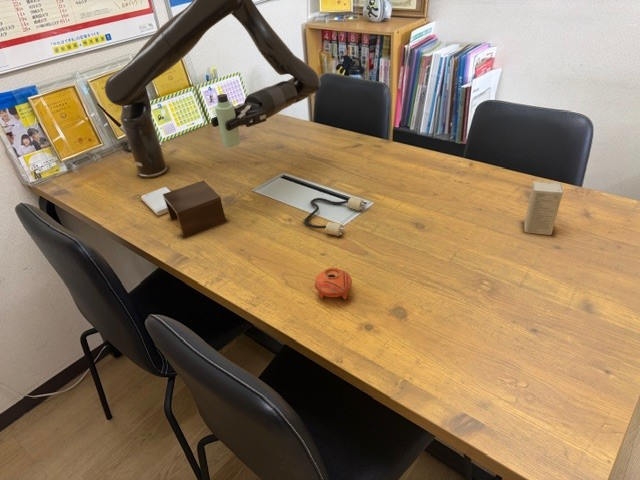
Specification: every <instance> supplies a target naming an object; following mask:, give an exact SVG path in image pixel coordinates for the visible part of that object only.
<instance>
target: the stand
mask: <svg viewBox="0 0 640 480" xmlns="http://www.w3.org/2000/svg"><path fill="white" fill-rule="evenodd" d="M170 191H171V192H168V193H165V194H163V197H164V200H165V203H166V206H167V209H168V212H167V213H168V216H169V219H170V220H171V221H173V220H176V219H177V220H178V223H179V227H180V230H181V233H182V236H183V238H189V237H190V236H194V235H196V234H199V233H200V232H203V231H206V230H208V229H211V228H213V227H216V226H219V225H221V224H224V223H226V222H227V220H226V215H225V211H224V206H223V203H222V198H221V196H220V195H219V194H218V193H217V192H216V190H214V189H213V188H212V187H211V186H210V185H209V184H208V183H207V182H206V181H205V180H200V181H197V182H194V183H192V184H189V185H186V186H183V187H180V188H177V189H174V190H170Z"/></svg>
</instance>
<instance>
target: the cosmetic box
mask: <svg viewBox="0 0 640 480" xmlns="http://www.w3.org/2000/svg"><path fill="white" fill-rule="evenodd" d="M531 187H532V188H531V191H530V194H529V200H528V205H527V209H526V214H525V219H524V222H523V223H524V224H523V225H524V228H523V229H524V233H529V234H538V235H547V236H548V235H549V236H552V235H553V231H554V227H555V224H556V219H557V216H558V212H559V208H560V205H561V202H562V201H561V200H562V197H563V194H564V190H563V185H562V183H560V182H548V181H547V182H546V181H533V182H532V186H531Z"/></svg>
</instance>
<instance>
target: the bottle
mask: <svg viewBox="0 0 640 480" xmlns="http://www.w3.org/2000/svg"><path fill="white" fill-rule="evenodd" d="M216 99H217V102H216V103H217V104H216V105H215V106H214V109H215V114H216V116H217V119H218V123H219V126H218V127H219V128H218V129H219V132H220V136H221V137H220V138H221V141H222V145H223V146H224V147H226V148H232V147H237V146H239V145H240V144H241V143H242V141H241V137H240V136H241V135H240V131H239V126H238V127H236V128H234V129H232V130H230V131H228V130H226V126H225V122H227V121H229V120H231V119H233V118H235V117H236V115H235V110H234V106H235V105H234V103H232V102H230V99H229V98H228V94H227V93H220V94H218V95H217V97H216Z"/></svg>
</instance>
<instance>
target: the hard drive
mask: <svg viewBox="0 0 640 480" xmlns="http://www.w3.org/2000/svg"><path fill="white" fill-rule="evenodd" d="M171 191H172V190H170V189H169V188H168V187H167V186H163V187H161V188H159V189H156V190H153V191H150V192H148V193H146V194H143V195H141V196H140V199H141V201H142V202H144V204H145V205H146V206H147V207H148V208H150V210H151V211H152V212H153V213H154V214H155V215H157V217H159V216H163V215H164V214H167V213H168V209H167V206H166V203H165V200H164V197H163V194H165V193H168V192H171Z"/></svg>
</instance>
